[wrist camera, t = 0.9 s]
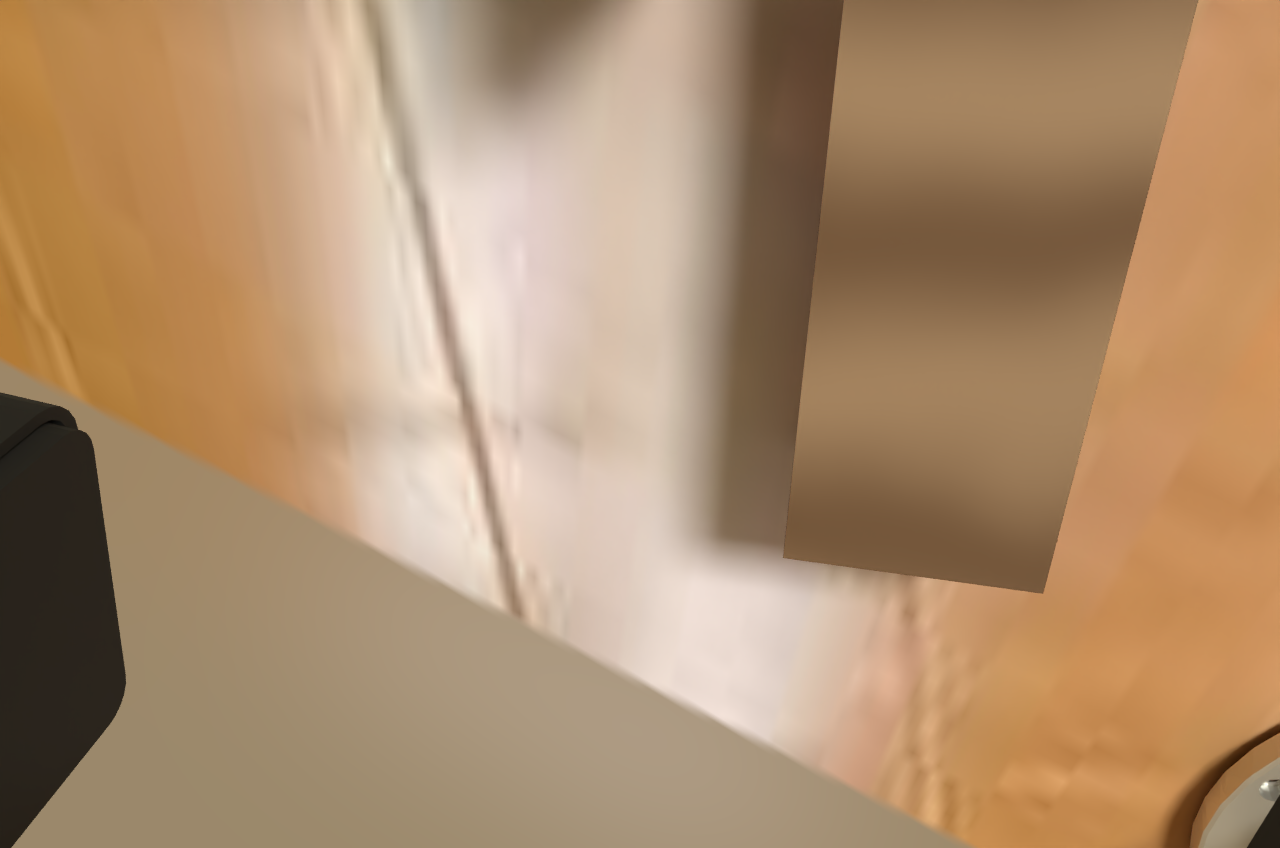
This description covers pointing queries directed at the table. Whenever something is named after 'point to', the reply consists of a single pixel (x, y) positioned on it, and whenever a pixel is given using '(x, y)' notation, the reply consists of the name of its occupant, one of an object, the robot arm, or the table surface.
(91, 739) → the robot arm
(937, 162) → the brown wooden block
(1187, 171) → the table surface
